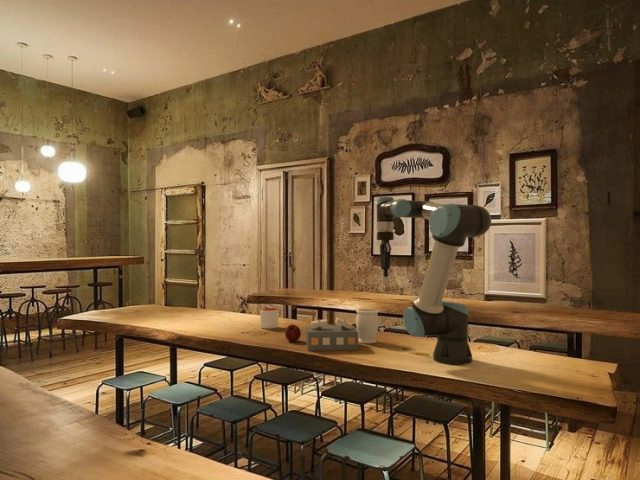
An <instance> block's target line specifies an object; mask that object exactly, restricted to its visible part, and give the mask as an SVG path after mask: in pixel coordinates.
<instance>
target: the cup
mask: <svg viewBox="0 0 640 480" xmlns="http://www.w3.org/2000/svg"><path fill="white" fill-rule="evenodd" d="M259 312H260V314H259V316H260V317H259V321H260V323H259V327H260V328H261V329H265V330H272V329H277V328H278V327H279V324H280V323H279V320H280V319H279V316H280V315H279V313H280V312H279V308H276V307H275V308H273V307H269V308H268V307H266V308H261V309H259Z"/></svg>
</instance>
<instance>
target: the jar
mask: <svg viewBox="0 0 640 480" xmlns="http://www.w3.org/2000/svg"><path fill="white" fill-rule="evenodd" d="M355 312H356V313H357V314H356V319H355V325H356V327H355V328H356V330H357V331H358V343H361V344H375V343H377V340H376V337H377V335H378V330H379V321H380V320H379V315H378V314H379V310H378V309H375V308H374V309H373V308H359V309H356V311H355Z"/></svg>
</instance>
